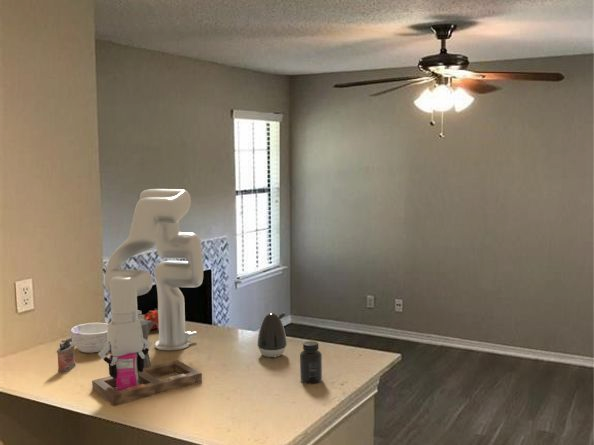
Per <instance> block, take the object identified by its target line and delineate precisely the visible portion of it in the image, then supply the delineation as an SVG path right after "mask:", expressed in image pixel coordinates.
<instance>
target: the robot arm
mask: <svg viewBox="0 0 594 445" xmlns="http://www.w3.org/2000/svg"><path fill="white" fill-rule="evenodd" d="M191 206H192V198H191V194H190V192H188V190H186V189H181V188H180V189H179V188H177V189H176V188H169V189H168V188H149V189H145V190H143V191H142V192H140V195H139V200H138V201H137V202H136V205H135V208H134V213H133V216H132V217H133V218H132V220H131V226H130V229H129V230H130V231H129V235H128V237H127V239H125V241H123V242H122V243H121V244H120V245H118V247H116V249H115V250H114V251H113V253H112V254H111V255H110V257H109V258H108V261H107V266H106V270H105V273H104V284H103V285H104V288H105V290H106V291H107V293H109V294H110V312H111V313H110V314H111V315H110V316H111V321H109V322H108V324H109V325H108V331H107V345H106V346H105V347H104V348H103V349H102V350H101V351H100V352H97V353H98V356H99V357H100V358H101V359H102V360H103V362H106V364H108V374H109V376H111V377H113V378H114V379H115V378H117V367H116V365H115V362H116V360H117V358H118V357H120V356H125V355H129V354H133V353H137V355H138V357H137V366H138V371H140V372H143V368H144V358H145V355H146V354H147V353H149V351H150V348H151V347H152V345H153V342H151V341H150V340H146V339H144V338H143V333H142V327H141V323H140V320H139V319H140V318H139V316H140V315H142V314H143V313H142V310H139V309H138V297H139V296H143V295H145V294H148V293H149V292H150V291H151V290H152V287H153V283H154V280H153V276H152V274H151V273H150V272H149V271H147V270H140V269H121V268H122V266H123V265H124V263H125V262H126V261H128V260H129V259H130V258H132V257H134V256H136V255H138V254H141V253H143V252H146V251H148V250H150V249H152V248H153V247H154V246H156V252H157V256H159V257H160V258H163V259H169V260H163V261H160V262H158V263H157V264H156V265H155V268H154V273H153V274H154V279H155V285H156V292H157V310H158V320H159V329H158V340H156V342H154V347H155V348H156V349H158V350H161V351H179V350H183V349H186V348H188V347H189V346H190V344H191V342H190V339H191V338H196V337H198V333H197V332H198V331H192V332H191V331H190V330H189V331H186V314H185V313H186V312H185V311H186V310H185V304H186V303H185V296H184V294H183V292H182V291H181V289H180V288H198V287H200V286H201V285H202V284H203V280H204V265H203V250H202V240H201V238H200V236H199V235H198V234H197V233H194V232H189V231H187V232H185V231H184V232H183V231H181V230H180V224H179V221H181V219H183V217H185V216H186V215H187V214H188V213H189V211H190V208H191ZM170 259H171V260H170ZM172 259H173V260H172ZM174 259H176V260H174ZM177 259H178V260H177ZM181 259H182V260H181ZM144 343H145V347H144ZM143 347H144V348H143ZM106 354H109V357H108V356H107V355H106Z"/></svg>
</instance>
